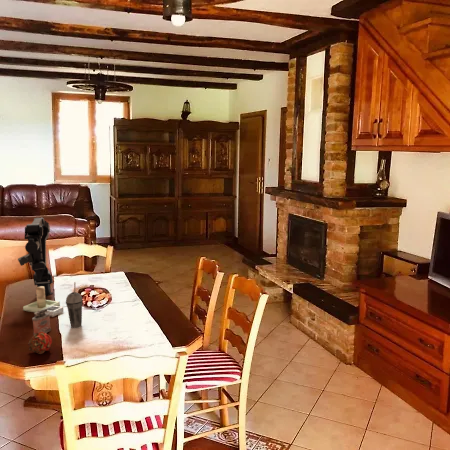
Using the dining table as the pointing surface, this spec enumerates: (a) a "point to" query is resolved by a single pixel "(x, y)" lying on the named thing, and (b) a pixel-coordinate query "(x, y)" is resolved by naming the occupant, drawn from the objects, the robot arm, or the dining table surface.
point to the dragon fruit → (40, 343)
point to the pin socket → (54, 310)
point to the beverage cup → (74, 308)
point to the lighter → (41, 321)
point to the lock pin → (40, 297)
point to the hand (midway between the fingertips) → (38, 278)
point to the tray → (34, 308)
